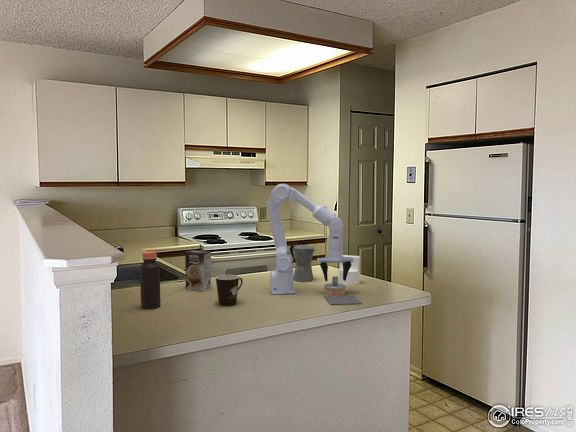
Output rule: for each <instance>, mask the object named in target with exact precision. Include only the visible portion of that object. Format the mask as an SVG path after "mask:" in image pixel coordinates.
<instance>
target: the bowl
mask: <svg viewBox="0 0 576 432" xmlns="http://www.w3.org/2000/svg"><path fill="white" fill-rule="evenodd" d="M324 293H325V295H327V296H331V295H346V287H345V288H344V289H338V290H334V289H327V288H325V287H324Z"/></svg>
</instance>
